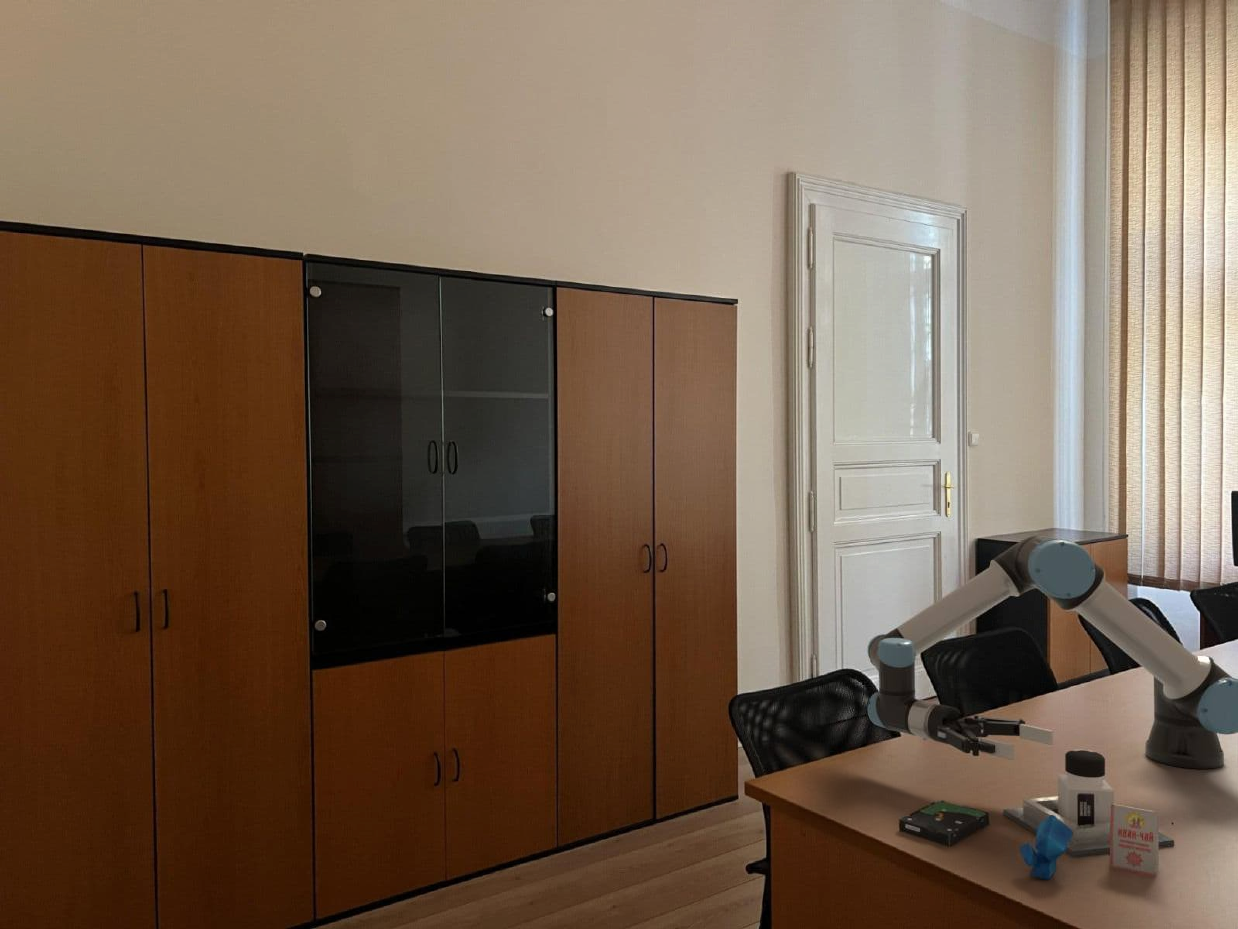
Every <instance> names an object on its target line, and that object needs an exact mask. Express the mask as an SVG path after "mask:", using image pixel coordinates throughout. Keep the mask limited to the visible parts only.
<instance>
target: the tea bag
mask: <svg viewBox="0 0 1238 929" xmlns="http://www.w3.org/2000/svg"><path fill="white" fill-rule="evenodd" d="M1158 822H1159V821H1158V811H1156V810H1149V809H1144V808H1137V807H1131V806H1126V805H1122V804H1117V803H1114V804H1111V819H1110V853H1109V868H1112V869H1117V870H1121V871H1122V870H1123V871H1127V872H1131V873H1135V874H1136V873H1137V874H1141V875H1146V876H1149V877H1156V878H1157V876H1158V875H1157V874H1158V871H1159V866H1160V864H1159V861H1160V860H1159V853H1160V852H1159V848H1160V847H1158V832H1159V823H1158Z"/></svg>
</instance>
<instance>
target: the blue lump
mask: <svg viewBox="0 0 1238 929" xmlns="http://www.w3.org/2000/svg"><path fill="white" fill-rule="evenodd" d="M1072 835H1073V831H1072V830H1071V829H1069V828H1068V827H1067V826H1066V825H1065V824H1064V823H1062V822H1061V821H1060V820H1059V819H1058V818H1056V817H1055V816H1054V815H1050V816H1049V817H1048V818H1047V819H1046V820H1044V821H1043V822H1042V823H1041V824H1040V825H1039V826H1038V829H1037V835H1036V838H1035V844H1034V847H1033V845H1032V843H1029V842H1028V843H1025V844H1023V845H1020V846H1019V851H1020V853H1021V855H1022V857H1023V860H1024V862H1025V863H1026V865H1027V867H1032V876H1033V877H1034V878H1037V879H1041V880H1046V881H1048V880H1049V879H1051V877H1052V875H1053V874H1054V872H1055V870H1056V869H1057V868H1058V865H1057V862H1058V859H1059V858H1060V857H1061V856H1062V855H1063V854H1065V850H1066V848H1067V846H1068V844H1069V842H1070V839H1071V837H1072ZM1034 848H1035V849H1034Z"/></svg>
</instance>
